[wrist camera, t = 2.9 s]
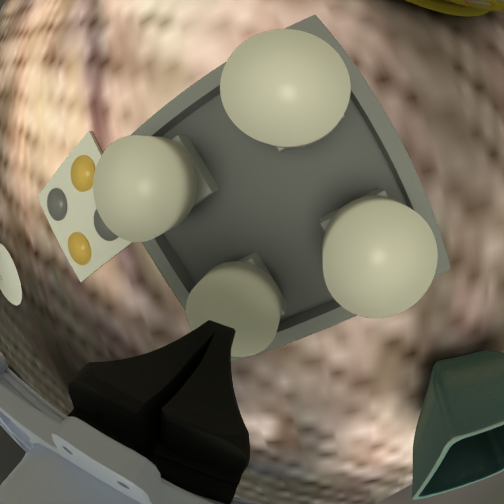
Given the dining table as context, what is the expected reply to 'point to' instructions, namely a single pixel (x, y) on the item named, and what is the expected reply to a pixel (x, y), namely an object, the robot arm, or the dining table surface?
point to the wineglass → (9, 278)
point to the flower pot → (460, 424)
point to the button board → (279, 195)
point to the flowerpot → (461, 6)
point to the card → (79, 211)
